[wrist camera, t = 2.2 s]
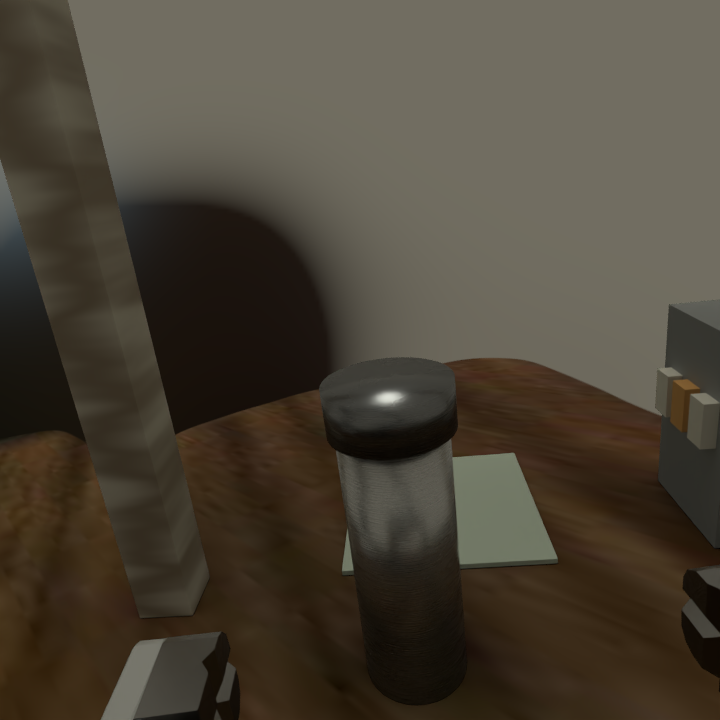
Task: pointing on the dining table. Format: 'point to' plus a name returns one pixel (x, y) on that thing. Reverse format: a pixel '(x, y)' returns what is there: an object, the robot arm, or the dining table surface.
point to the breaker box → (692, 414)
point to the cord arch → (95, 302)
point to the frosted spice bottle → (401, 519)
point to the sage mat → (492, 516)
